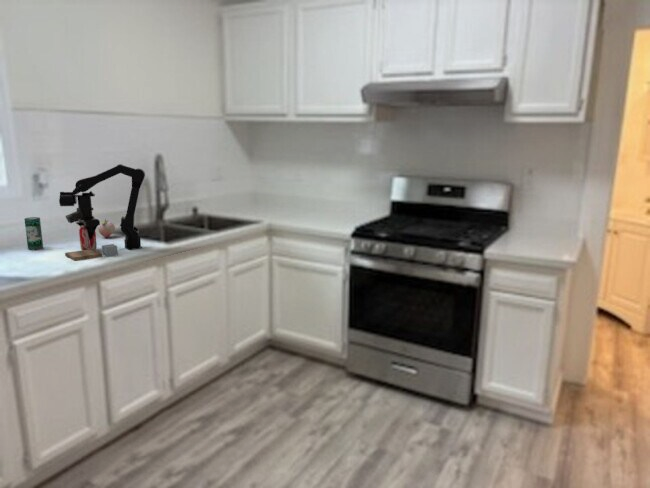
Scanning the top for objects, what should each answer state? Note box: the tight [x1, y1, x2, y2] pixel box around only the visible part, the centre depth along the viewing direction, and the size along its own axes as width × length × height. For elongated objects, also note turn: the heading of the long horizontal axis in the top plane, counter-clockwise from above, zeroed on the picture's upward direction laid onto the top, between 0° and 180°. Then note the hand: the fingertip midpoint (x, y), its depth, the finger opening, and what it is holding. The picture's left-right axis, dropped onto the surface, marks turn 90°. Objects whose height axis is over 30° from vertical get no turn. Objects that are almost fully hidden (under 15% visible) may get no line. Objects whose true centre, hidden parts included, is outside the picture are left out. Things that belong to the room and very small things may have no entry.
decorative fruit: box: [97, 218, 116, 238], centre depth 262 cm, size 9×8×10 cm
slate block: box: [101, 243, 119, 258], centre depth 225 cm, size 5×5×4 cm
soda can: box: [78, 225, 98, 251], centre depth 232 cm, size 7×7×12 cm
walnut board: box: [64, 249, 103, 262], centre depth 222 cm, size 12×12×2 cm
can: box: [24, 216, 44, 251], centre depth 234 cm, size 6×6×15 cm
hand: (87, 238), depth 232 cm, fingers closed on soda can, 6 cm apart
